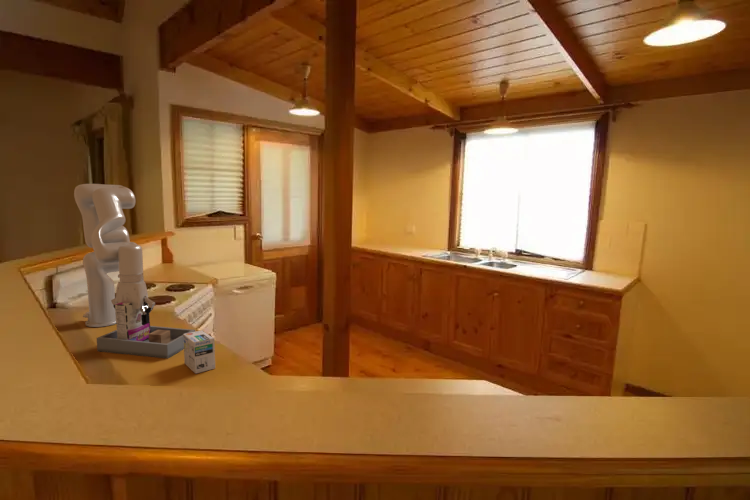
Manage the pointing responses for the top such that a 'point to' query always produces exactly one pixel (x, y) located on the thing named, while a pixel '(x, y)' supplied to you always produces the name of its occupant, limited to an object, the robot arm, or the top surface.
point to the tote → (144, 344)
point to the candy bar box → (130, 323)
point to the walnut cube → (160, 336)
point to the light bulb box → (199, 351)
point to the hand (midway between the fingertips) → (134, 322)
